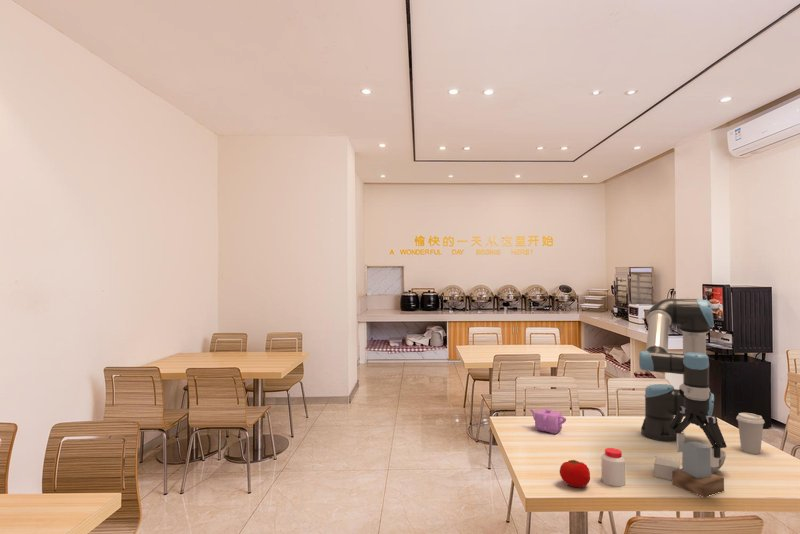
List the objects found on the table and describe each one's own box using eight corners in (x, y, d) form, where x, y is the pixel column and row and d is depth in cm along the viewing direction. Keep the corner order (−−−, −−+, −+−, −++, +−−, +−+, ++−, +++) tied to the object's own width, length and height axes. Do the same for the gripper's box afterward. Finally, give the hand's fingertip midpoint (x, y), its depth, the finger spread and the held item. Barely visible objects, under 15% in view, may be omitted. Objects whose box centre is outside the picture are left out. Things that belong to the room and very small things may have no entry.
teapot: (523, 430, 219) (523, 409, 219) (533, 422, 230) (533, 402, 230) (562, 438, 208) (562, 415, 208) (570, 430, 219) (570, 408, 220)
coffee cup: (770, 456, 188) (769, 419, 188) (744, 454, 190) (743, 418, 190) (757, 447, 197) (756, 412, 197) (732, 446, 199) (731, 411, 199)
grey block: (654, 477, 168) (654, 463, 168) (655, 469, 175) (655, 456, 175) (679, 482, 164) (679, 468, 164) (679, 473, 171) (679, 460, 171)
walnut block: (672, 485, 162) (672, 471, 162) (691, 479, 167) (691, 465, 167) (704, 499, 152) (704, 483, 152) (724, 492, 157) (723, 477, 157)
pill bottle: (597, 477, 167) (597, 446, 168) (617, 476, 168) (617, 446, 168) (608, 486, 160) (608, 455, 160) (629, 486, 160) (629, 454, 161)
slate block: (682, 470, 162) (682, 442, 162) (696, 469, 163) (696, 441, 164) (696, 478, 156) (696, 448, 156) (711, 476, 157) (711, 447, 158)
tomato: (595, 490, 157) (595, 466, 157) (566, 491, 156) (566, 466, 156) (582, 478, 166) (582, 455, 166) (555, 479, 165) (555, 456, 165)
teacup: (734, 474, 170) (734, 453, 170) (710, 479, 166) (710, 457, 166) (696, 459, 184) (695, 439, 184) (673, 463, 180) (673, 443, 180)
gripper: (659, 389, 171) (659, 446, 171) (720, 408, 147) (721, 474, 147) (675, 388, 173) (676, 444, 173) (739, 407, 149) (739, 472, 149)
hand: (697, 458), depth 160 cm, fingers open, 13 cm apart
